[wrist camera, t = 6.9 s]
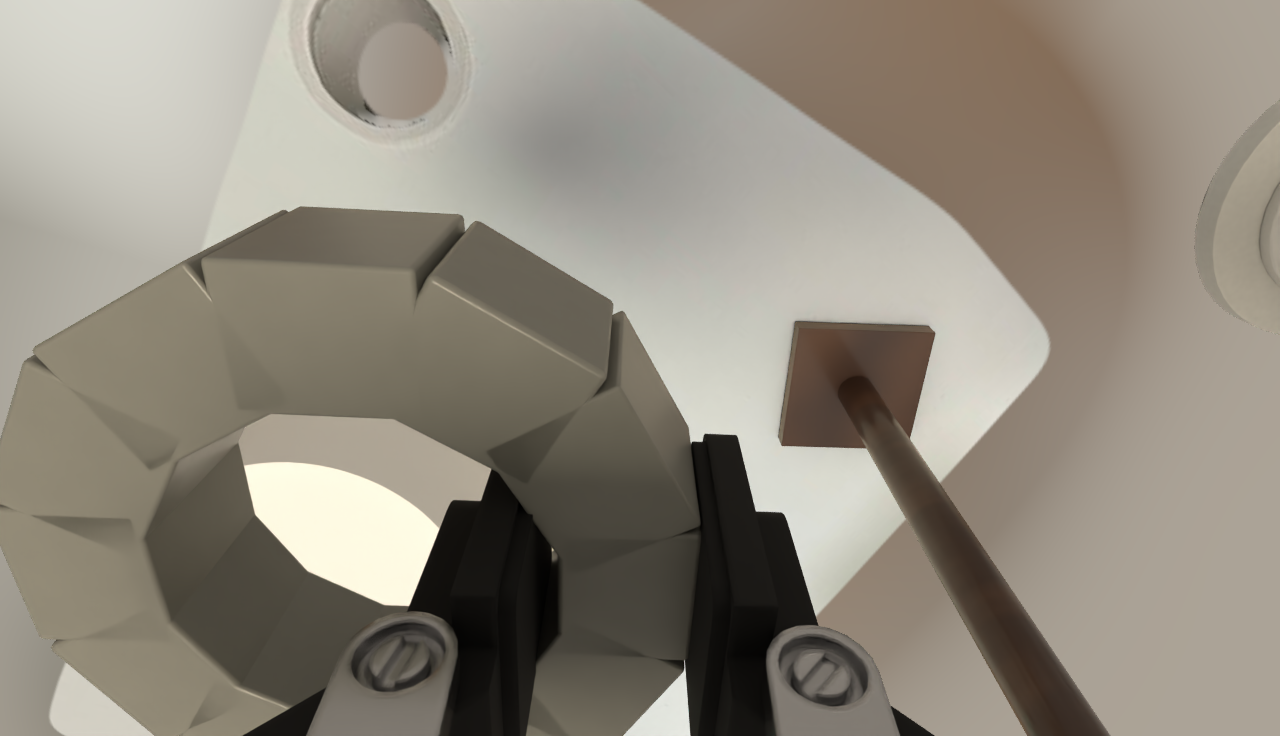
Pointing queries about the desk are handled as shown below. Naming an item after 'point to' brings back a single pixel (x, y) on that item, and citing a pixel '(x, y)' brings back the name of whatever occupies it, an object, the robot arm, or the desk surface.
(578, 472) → the grey faceted ring
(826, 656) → the robot arm
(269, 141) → the desk surface
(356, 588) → the canister
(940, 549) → the post
